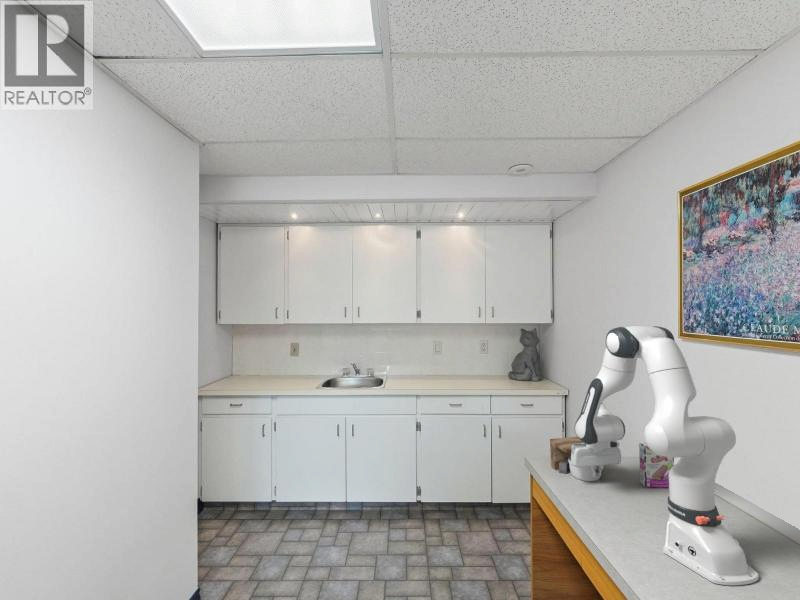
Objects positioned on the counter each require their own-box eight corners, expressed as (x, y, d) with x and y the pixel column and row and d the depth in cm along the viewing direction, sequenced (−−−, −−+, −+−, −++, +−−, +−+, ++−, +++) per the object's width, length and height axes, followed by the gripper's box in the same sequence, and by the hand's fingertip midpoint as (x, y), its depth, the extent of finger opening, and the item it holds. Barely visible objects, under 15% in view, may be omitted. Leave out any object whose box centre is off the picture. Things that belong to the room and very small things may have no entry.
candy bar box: (645, 488, 161) (644, 446, 161) (639, 482, 166) (638, 442, 166) (675, 488, 160) (674, 446, 160) (668, 483, 165) (667, 442, 165)
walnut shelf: (609, 475, 173) (608, 446, 173) (567, 479, 171) (566, 449, 171) (590, 463, 187) (589, 436, 187) (550, 466, 185) (550, 438, 185)
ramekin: (561, 472, 178) (561, 456, 178) (586, 468, 182) (585, 452, 182) (584, 485, 165) (584, 467, 165) (610, 479, 169) (609, 462, 170)
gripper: (575, 446, 162) (576, 481, 162) (623, 442, 165) (624, 477, 164) (567, 441, 168) (568, 474, 168) (613, 437, 171) (614, 470, 171)
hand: (596, 475), depth 166 cm, fingers closed, pressing on ramekin
